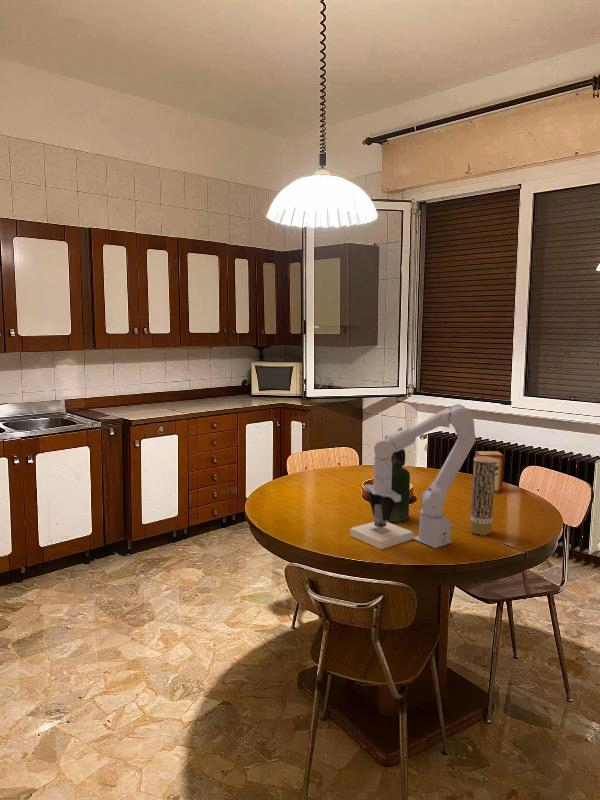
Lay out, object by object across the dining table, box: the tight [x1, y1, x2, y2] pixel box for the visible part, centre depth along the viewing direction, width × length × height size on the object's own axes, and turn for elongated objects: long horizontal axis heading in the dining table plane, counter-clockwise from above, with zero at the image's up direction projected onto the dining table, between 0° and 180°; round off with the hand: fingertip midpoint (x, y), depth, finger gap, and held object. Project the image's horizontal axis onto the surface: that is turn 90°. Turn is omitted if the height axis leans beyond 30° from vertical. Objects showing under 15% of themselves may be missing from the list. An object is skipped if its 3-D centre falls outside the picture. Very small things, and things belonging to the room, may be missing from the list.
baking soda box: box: [474, 450, 505, 494], centre depth 245 cm, size 10×6×16 cm
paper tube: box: [469, 456, 496, 536], centre depth 197 cm, size 7×7×25 cm
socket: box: [349, 521, 414, 550], centre depth 194 cm, size 14×14×2 cm
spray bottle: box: [382, 448, 411, 523], centre depth 211 cm, size 10×10×25 cm
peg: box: [373, 502, 388, 527], centre depth 192 cm, size 4×4×7 cm
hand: (381, 518), depth 193 cm, fingers closed on peg, 4 cm apart
